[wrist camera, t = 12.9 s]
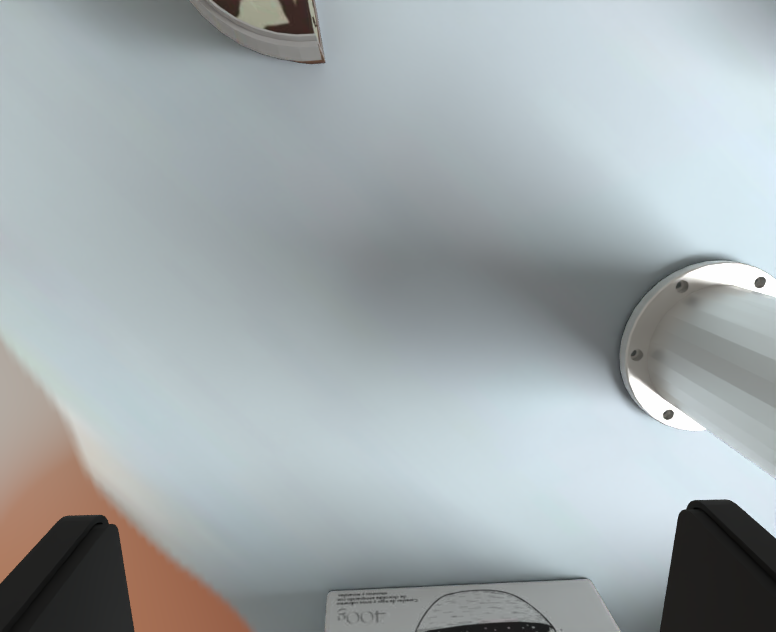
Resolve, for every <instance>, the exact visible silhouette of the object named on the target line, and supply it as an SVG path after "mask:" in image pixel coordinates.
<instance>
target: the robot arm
mask: <svg viewBox="0 0 776 632" xmlns="http://www.w3.org/2000/svg"><path fill="white" fill-rule="evenodd" d="M676 285H677V286H676ZM632 352H633V353H632ZM619 357H620V371H621V375H622V378H623V382H624V385H625V387H626V389H627V391H628V392H629V394H630V396H631V398H632V399H633V400H634V401H635V402H636V404H637V405H638V406H639V407H640V408H641V409H642V410H644V411H645V412H646V413H647V414H649V415H650V416H651V417H652V418H654V419H655V420H657V421H659V422H660V423H662V424H664V425H667V426H670V427H674V428H677V429H682V430H691V431H699V430H707V431H709V432H710V433H712V434H713V435H714V436H716V437H717V438H719V439H720V440H721V441H723V442H724V443H726V444H727V445H728V446H730V447H731V448H733V449H734V450H735V451H737V452H738V453H740V454H741V455H742V456H744V457H745V458H747V459H748V460H749V461H751V462H752V463H754V464H755V465H756V466H758V467H759V468H761V469H762V470H763V471H765V472H766V473H768V474H769V475H770V476H772V477H773V478H775V479H776V279H775V278H774V277H772V276H771V275H770V274H769V273H767V272H765V271H763V270H761V269H759V268H757V267H754V266H751V265H747V264H743V263H739V262H732V261H726V260H717V261H705V262H701V263H697V264H693V265H689V266H687V267H685V268H682V269H680V270H678V271H676V272H673V273H672V274H670V275H669V276H667V277H666V278H664V279H663V280H661V281H660V282H658V283H657V284H656V285H655V286H654V287H653V288H652V289H651V290H650V291H649V292H648V293H647V294H646V295H645V296H644V297H643V298H642V300H641V301H640V302H639V304H638V305H637V306H636V308H635V309H634V311H633V313H632V315H631V316H630V318H629V320H628V322H627V324H626V327H625V330H624V333H623V336H622V340H621V347H620V355H619ZM0 632H134V626H133V621H132V614H131V608H130V601H129V595H128V588H127V582H126V576H125V570H124V564H123V557H122V550H121V544H120V538H119V532H118V528H117V527H116V525H114V524H109V523H108V520H107V519H106V517H105V516H103V515H80V516H65V517H63V518H61V519H60V520H59V521H58V522H57V523H56V524H55V525H54V526H53V527H52V528H51V529H50V530H49V532H48V533H47V534H46V535H45V536H44V537H43V538H42V539H41V540H40V541H39V542H38V544H37V545H36V546H35V547H34V548H33V549H32V550H31V551H30V552H29V553H28V554H27V555H26V557H25V558H24V559H23V560H22V561H21V562H20V563H19V564H18V565H17V566H16V567H15V569H14V570H13V571H12V572H11V573H10V574H9V575H8V576H7V577H6V578H5V579H4V581H3V582H2V583H1V584H0ZM660 632H776V538H774V537H773V536H772V535H771V534H770V533H769V532H768V531H766V530H765V529H764V528H763V527H762V526H761V525H760V524H758V523H757V522H756V521H755V520H754V519H753V518H752V517H750V516H749V515H748V514H747V513H746V512H745V511H744V510H742V509H741V508H740V507H739V506H738V505H737V504H735V503H734V502H732V501H730V500H694V501H691V502H690V503H689V504H688V506H687V509H686V510H682V511H681V512H680V513H679V516H678V521H677V527H676V534H675V540H674V546H673V552H672V559H671V565H670V571H669V577H668V584H667V590H666V596H665V602H664V609H663V615H662V621H661V627H660Z"/></svg>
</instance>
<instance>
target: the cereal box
mask: <svg viewBox="0 0 776 632" xmlns="http://www.w3.org/2000/svg"><path fill="white" fill-rule="evenodd" d="M324 632H621V631H620V629H619V627H618V626H617V624H616V622H615V621H614V619H613V617H612V615H611V614H610V612H609V610H608V609H607V607H606V605H605V603H604V602H603V600H602V598H601V597H600V595H599V593H598V592H597V590H596V588H595V586H594V585H593V583H592V581H591V580H589V579H574V580H553V581H532V582H511V583H490V584H469V585H448V586H427V587H406V588H385V589H364V590H343V591H331V592H329V593H328V595H327V601H326V615H325V630H324Z"/></svg>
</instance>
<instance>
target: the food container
mask: <svg viewBox="0 0 776 632" xmlns="http://www.w3.org/2000/svg"><path fill="white" fill-rule="evenodd" d="M189 1H190V2H191V3H192V4H193V6H194V7H195V8H196V9H197V10H198V11H199V13H200V14H201V15H202V16H203V17H204V18H205V19H206V20H208V21H209V22H210V23H211V24H212V25H213V26H214V27H215V28H217V29H218V30H219V31H220V32H221V33H223V34H224V35H226V36H228V37H229V38H231V39H232V40H234V41H235V42H237V43H238V44H240V45H242V46H244V47H247V48H249V49H251V50H253V51H256V52H258V53H260V54H264V55H268V56H271V57H275V58H279V59H285V60H290V61H294V62H298V63H306V64H319V63H326V62H325V57H324V51H323V45H322V39H321V33H320V27H319V21H318V15H317V10H316V4H315V0H189Z"/></svg>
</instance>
